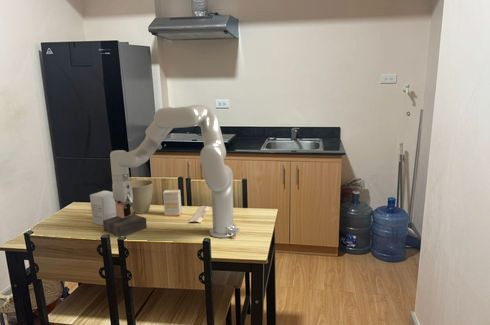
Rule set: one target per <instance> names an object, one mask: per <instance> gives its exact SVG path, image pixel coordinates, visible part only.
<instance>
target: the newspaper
mask: <svg viewBox="0 0 490 325" xmlns="http://www.w3.org/2000/svg"><path fill="white" fill-rule="evenodd" d="M209 208H210V209H211V207H210V206H208V205H201V206H199V207H198V209H197V210H196V212H195V213H194V214H193V215H192V217H191V218H189V221H188V222H187V223H189V224H190V223H191V222H197V223H199V224H201V223H202V221H203V220H204V218H205V216H206V215H207V214H208V212H209V210H210V209H209ZM206 213H207V214H206Z"/></svg>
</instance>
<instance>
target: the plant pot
mask: <svg viewBox="0 0 490 325" xmlns="http://www.w3.org/2000/svg"><path fill="white" fill-rule="evenodd" d="M130 182H131V186H132V191H133V203H132V205H131V209H132V210H133V213H134V214H135V215H142V214H146V213H149V210H150V208H151V203H152V200H153V193H154V181H153V180H149V179H139V180H132V181H131V180H130Z"/></svg>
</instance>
